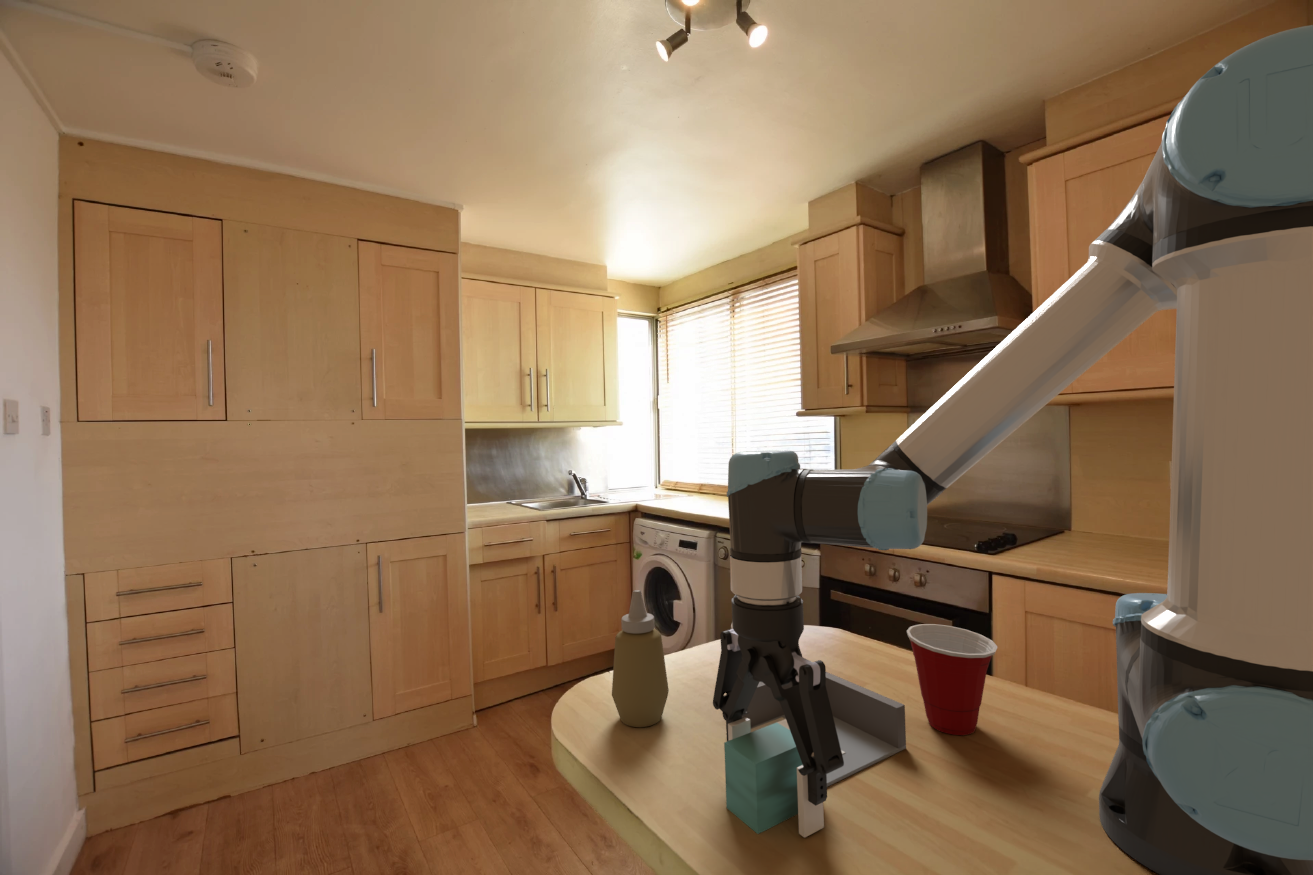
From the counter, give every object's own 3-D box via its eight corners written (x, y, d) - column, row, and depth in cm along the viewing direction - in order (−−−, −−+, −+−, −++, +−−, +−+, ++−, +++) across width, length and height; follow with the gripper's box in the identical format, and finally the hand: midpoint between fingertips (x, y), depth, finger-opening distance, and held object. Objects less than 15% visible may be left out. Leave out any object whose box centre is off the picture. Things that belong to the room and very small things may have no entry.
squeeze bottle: (638, 700, 89) (634, 581, 89) (681, 714, 84) (676, 588, 84) (600, 721, 83) (596, 593, 83) (644, 738, 78) (639, 602, 78)
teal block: (788, 779, 68) (786, 718, 67) (821, 801, 63) (819, 736, 63) (726, 807, 63) (724, 742, 63) (757, 833, 59) (755, 763, 59)
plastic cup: (1004, 753, 71) (1001, 654, 71) (907, 736, 76) (904, 643, 76) (996, 713, 81) (993, 626, 81) (910, 701, 86) (908, 618, 86)
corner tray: (906, 748, 73) (904, 704, 73) (820, 789, 65) (819, 741, 65) (810, 700, 87) (808, 664, 87) (730, 730, 79) (728, 690, 79)
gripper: (879, 613, 55) (887, 849, 55) (727, 570, 75) (733, 745, 75) (823, 630, 51) (831, 884, 51) (678, 580, 71) (684, 764, 71)
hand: (773, 802), depth 63 cm, fingers open, 10 cm apart
